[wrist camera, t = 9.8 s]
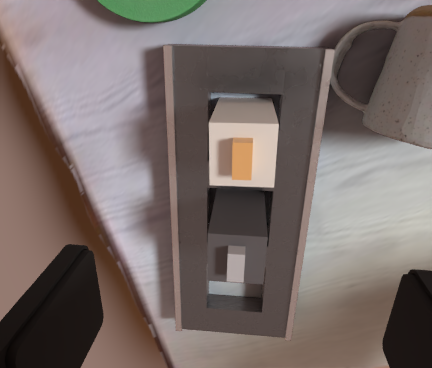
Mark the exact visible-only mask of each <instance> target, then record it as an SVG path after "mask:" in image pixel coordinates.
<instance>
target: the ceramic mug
mask: <svg viewBox="0 0 432 368" xmlns="http://www.w3.org/2000/svg"><path fill="white" fill-rule="evenodd" d="M375 29H391V30H396V35H395V37H394V40H393V43H392V45H391V47H390V50H389V53H388V55H387V57H386V59H385V64H384V67H383V69H382V72H381V74H380V76H379V78H378V80H377V83H376V85H375V88H374V90H373V92H372V95H371V98H370V100H369V103H368V104H363V103H361V102H359V101H357V100H355V99H353V98H352V97H350V96H349V95H348V94H346V93H345V92H344V91H343V90H342V88H341V87H340V85H339V83H338V81H337V77H338V70H339V68H340V66H341V63H342V60H343V58H344V56H345V54H346V52H347V51H348V49H350V48H351V47H352V44H353V42H352V41H353V40H354V39H355V37H356V36H357V35H359V34H361V33H363V32H365V31H367V30H375ZM334 50H335V51H334V58H333V65H332V71H331V78H330V84H331V86H332V88H333V90H334V91H335V93H336V94H337V95H338V97H340V98H341V99H342V100H343V101H344V102H346V103H347V104H349V105H351V106H352V107H354V108H356V109H359V110H361V111H363V112H364V115H363V118H362V123H363V124H364V126H365V127H367V128H369V129H371V130H372V131H374V132H377V133H379V134H382V135H384V136H387V137H390V138H393V139H396V140H399V141H402V142H406V143H410V144H413V145H416V146H420V147H424V148H427V149H432V5H427V6H421V7H418V8H416V9H414V10H413V11H411V12H410V13H409V14H408V15H407V16H406V17H405V19H404V20H403V21H400V22H393V21H386V20H383V21H372V22H367V23H364V24H361V25H359V26H357V27H355V28H353V29H352V30H350V31H349V32H348V33H346V34H345V35H344V36H343V37H342V38H341V39H340V41H339V43H338V44H337V45H336V47H335V49H334Z"/></svg>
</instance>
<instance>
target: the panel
mask: <svg viewBox="0 0 432 368" xmlns="http://www.w3.org/2000/svg"><path fill="white" fill-rule="evenodd" d="M163 51H164V74H165V96H166V118H167V141H168V163H169V185H170V208H171V230H172V252H173V275H174V297H175V319H176V331H182V329H190V330H202V331H213V332H225V333H237V334H248V335H260V336H271V337H283V338H285V340H290V341H291V337H292V330H293V323H294V317H295V310H296V303H297V297H298V290H299V284H300V277H301V270H302V264H303V257H304V250H305V244H306V237H307V230H308V224H309V217H310V211H311V204H312V197H313V191H314V184H315V177H316V171H317V164H318V157H319V151H320V144H321V138H322V131H323V124H324V118H325V111H326V104H327V98H328V91H329V85H330V78H331V71H332V65H333V58H334V51H335V50H334V49H331V48H326V47H282V46H237V45H193V44H168V45H164V46H163ZM211 92H224V93H254V94H280V103H279V114H278V123H279V129H278V142H277V155H276V168H275V182H274V188H270V187H243V186H215V185H210V182H209V121H210V108H211ZM210 188H224V189H242V190H261V191H271V200H270V210H269V221H268V232H267V234H268V240H267V250H266V261H265V272H264V282H263V285H262V296H261V298H251V297H238V296H226V295H213V294H209V281H208V280H207V252H208V229H209V213H210Z"/></svg>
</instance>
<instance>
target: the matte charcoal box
mask: <svg viewBox="0 0 432 368" xmlns="http://www.w3.org/2000/svg"><path fill="white" fill-rule="evenodd" d="M267 240H268V234H267V222H266V210H265V197H264V191H261V190H242V189H224V188H217V190H216V195H215V200H214V205H213V210H212V214H211V219H210V224H209V229H208V252H207V280H208V281H221V282H235V283H248V284H262V285H263V282H264V272H265V261H266V250H267Z"/></svg>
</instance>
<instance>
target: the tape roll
mask: <svg viewBox="0 0 432 368" xmlns="http://www.w3.org/2000/svg"><path fill="white" fill-rule="evenodd" d="M97 1H98V2H99V3H101V4H102V5H103V6H104V7H106V8H107V9H109V10H110V11H112V12H114V13H115V14H117V15H119V16H122V17H124V18H127V19H130V20H134V21H139V22H151V23H156V22H168V21H173V20H177V19H179V18H182V17H184V16H186V15H188V14H190V13H192V12H193V11H195V10H196V9H197V8H199V7H200V6H201V5H202V4H203V3H204V2H205V1H206V0H97Z"/></svg>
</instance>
